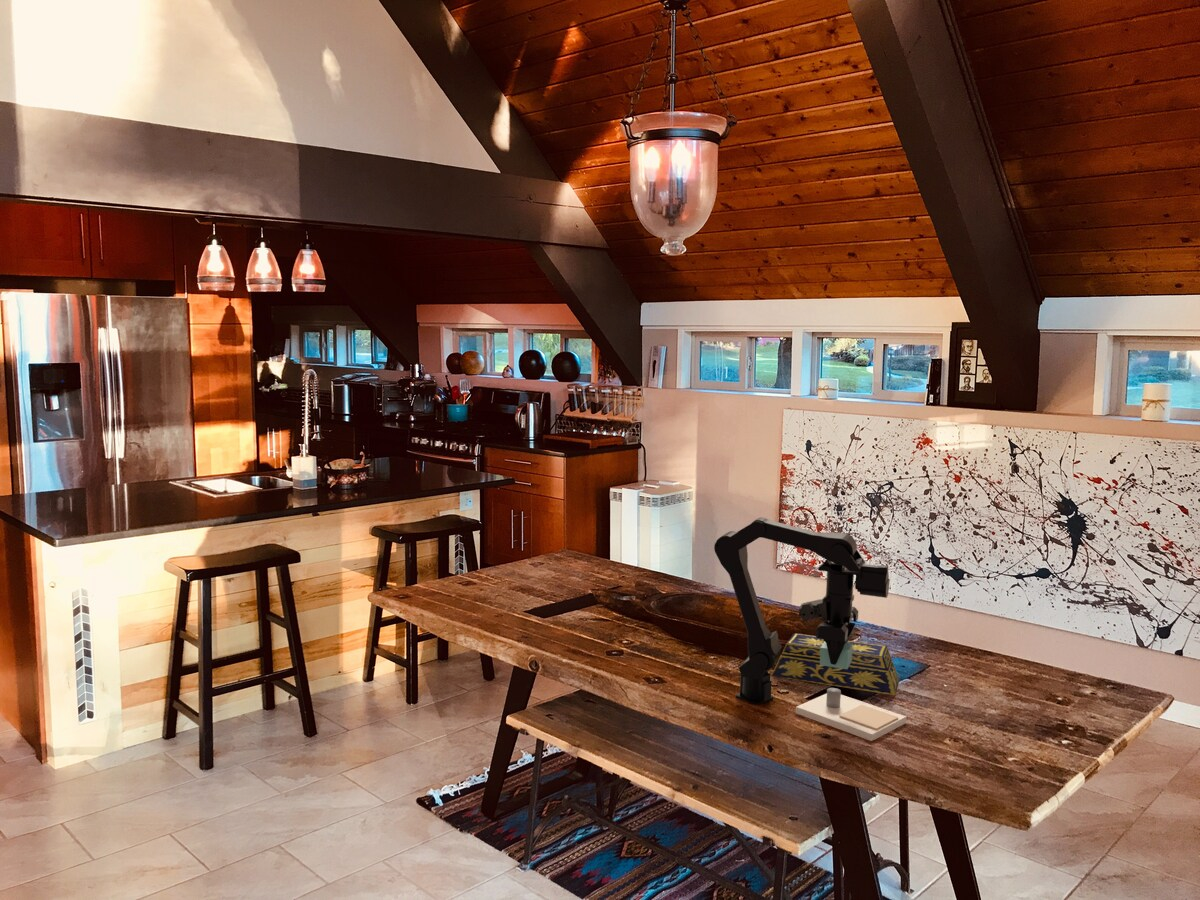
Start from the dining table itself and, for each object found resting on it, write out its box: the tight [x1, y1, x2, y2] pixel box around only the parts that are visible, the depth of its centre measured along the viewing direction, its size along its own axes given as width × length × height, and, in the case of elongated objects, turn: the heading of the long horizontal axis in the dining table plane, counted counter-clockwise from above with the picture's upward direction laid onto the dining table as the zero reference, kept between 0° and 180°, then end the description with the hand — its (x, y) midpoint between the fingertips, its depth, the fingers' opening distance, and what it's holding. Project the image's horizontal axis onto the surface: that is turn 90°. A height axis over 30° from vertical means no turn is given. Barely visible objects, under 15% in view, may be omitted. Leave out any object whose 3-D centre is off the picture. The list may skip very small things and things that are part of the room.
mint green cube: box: [820, 641, 853, 669], centre depth 212 cm, size 6×6×4 cm
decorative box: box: [770, 632, 900, 696], centre depth 234 cm, size 11×30×9 cm, turn 68°
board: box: [795, 687, 907, 742], centre depth 210 cm, size 19×14×5 cm
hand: (835, 659), depth 212 cm, fingers closed on mint green cube, 6 cm apart
